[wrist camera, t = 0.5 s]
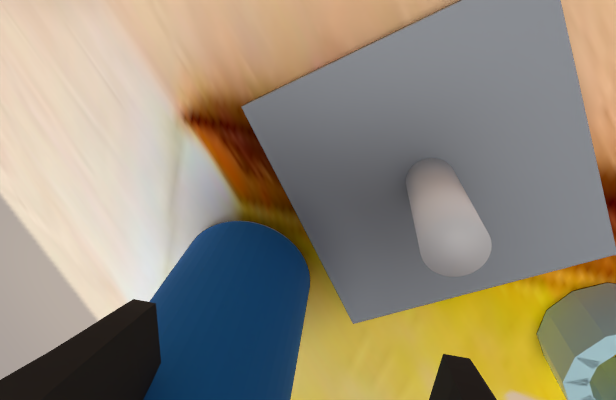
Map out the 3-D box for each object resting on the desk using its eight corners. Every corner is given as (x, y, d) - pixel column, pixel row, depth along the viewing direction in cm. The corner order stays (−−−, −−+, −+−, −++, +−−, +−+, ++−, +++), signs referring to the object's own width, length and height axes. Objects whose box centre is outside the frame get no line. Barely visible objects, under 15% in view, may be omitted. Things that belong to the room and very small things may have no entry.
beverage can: (287, 330, 22) (222, 626, 12) (179, 290, 22) (8, 557, 11) (331, 241, 20) (298, 523, 9) (207, 194, 19) (15, 426, 8)
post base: (604, 242, 18) (721, 352, 12) (353, 311, 21) (346, 421, 15) (539, -38, 14) (662, -85, 8) (248, 102, 17) (184, 142, 11)
